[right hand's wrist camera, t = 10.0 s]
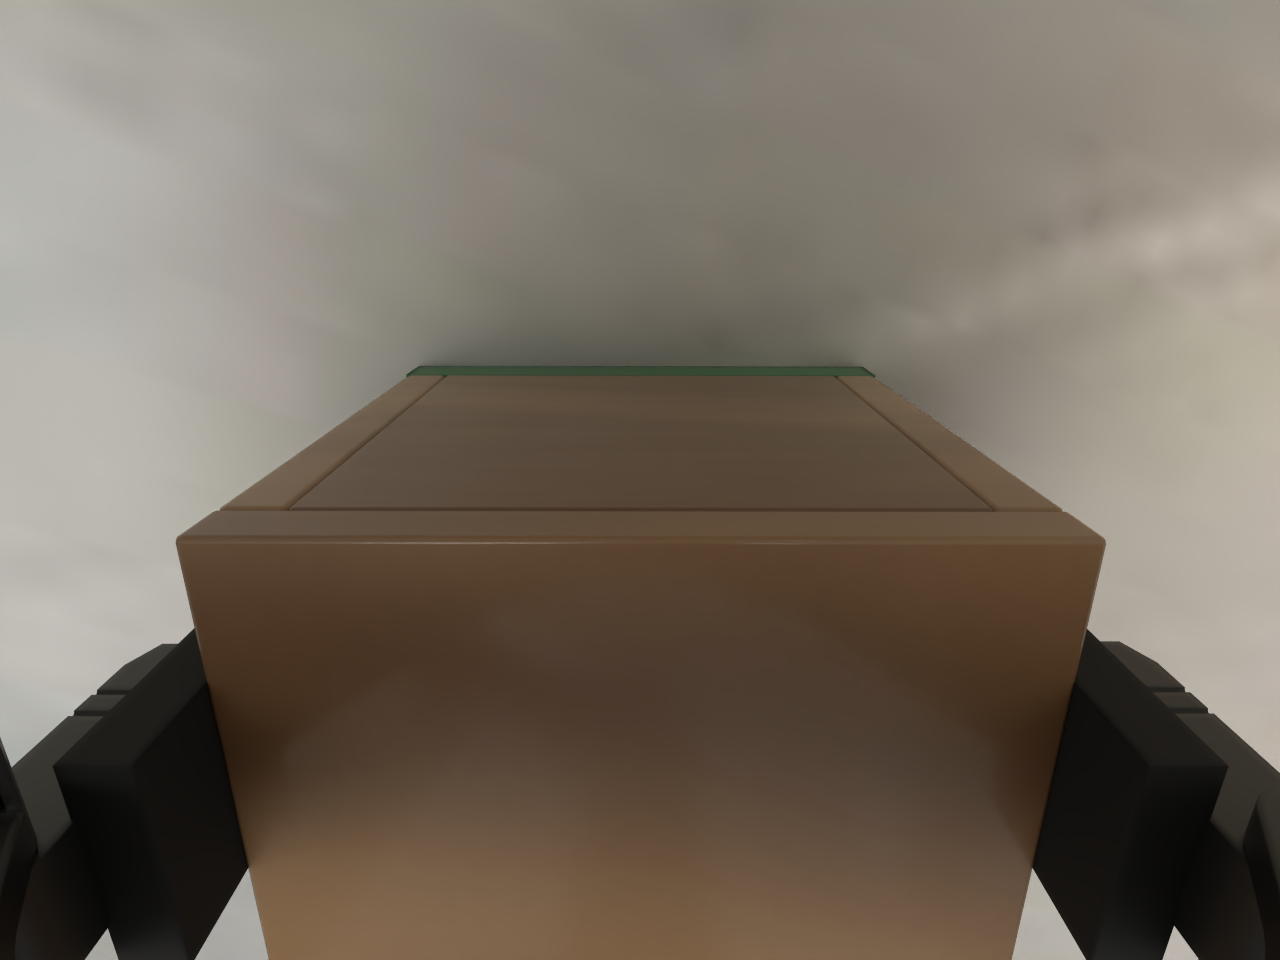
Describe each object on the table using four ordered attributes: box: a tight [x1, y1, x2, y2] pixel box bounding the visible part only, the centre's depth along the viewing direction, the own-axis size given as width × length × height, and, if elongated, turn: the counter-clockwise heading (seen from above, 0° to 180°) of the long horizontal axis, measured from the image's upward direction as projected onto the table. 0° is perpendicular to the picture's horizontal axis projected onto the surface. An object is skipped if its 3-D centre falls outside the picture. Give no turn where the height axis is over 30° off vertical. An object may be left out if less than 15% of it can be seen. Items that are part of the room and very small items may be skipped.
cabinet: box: [176, 366, 1106, 960], centre depth 16 cm, size 21×10×9 cm, turn 0°
